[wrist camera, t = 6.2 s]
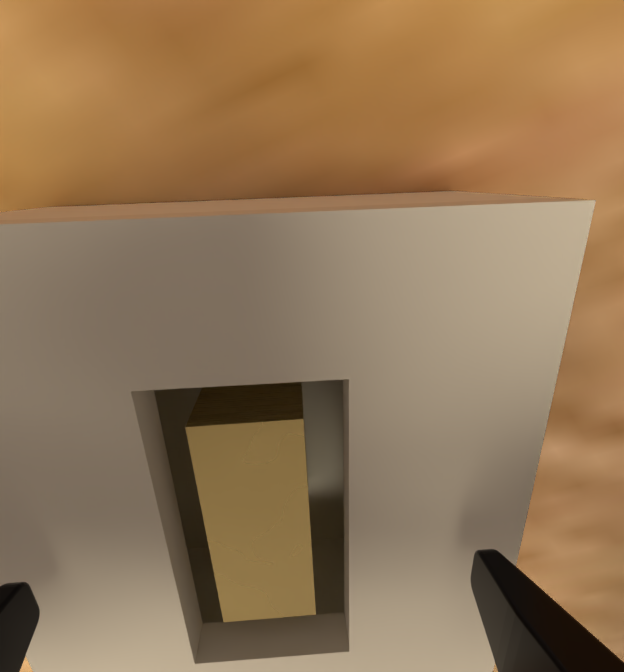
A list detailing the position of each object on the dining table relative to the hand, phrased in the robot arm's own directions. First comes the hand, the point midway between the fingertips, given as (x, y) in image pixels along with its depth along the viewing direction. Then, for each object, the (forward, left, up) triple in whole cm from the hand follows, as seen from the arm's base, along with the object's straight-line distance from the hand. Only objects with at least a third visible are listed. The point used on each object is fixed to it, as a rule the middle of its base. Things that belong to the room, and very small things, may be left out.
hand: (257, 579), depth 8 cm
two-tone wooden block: (0, 0, -6) cm, 6 cm away
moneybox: (0, 0, -7) cm, 7 cm away
